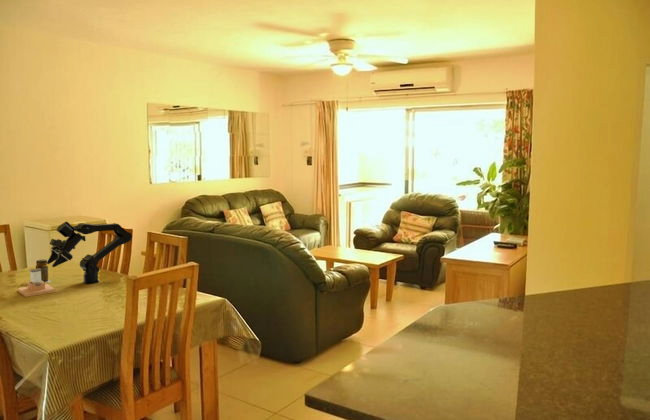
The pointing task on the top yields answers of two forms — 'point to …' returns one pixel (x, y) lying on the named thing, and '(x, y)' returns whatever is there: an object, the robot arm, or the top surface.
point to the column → (35, 276)
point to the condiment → (43, 270)
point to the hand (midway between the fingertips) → (49, 265)
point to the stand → (36, 289)
